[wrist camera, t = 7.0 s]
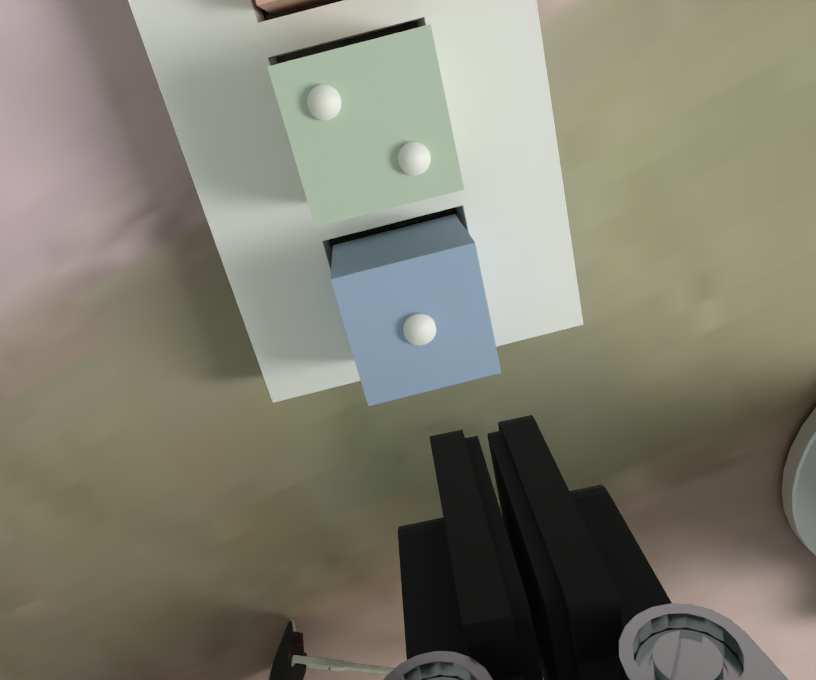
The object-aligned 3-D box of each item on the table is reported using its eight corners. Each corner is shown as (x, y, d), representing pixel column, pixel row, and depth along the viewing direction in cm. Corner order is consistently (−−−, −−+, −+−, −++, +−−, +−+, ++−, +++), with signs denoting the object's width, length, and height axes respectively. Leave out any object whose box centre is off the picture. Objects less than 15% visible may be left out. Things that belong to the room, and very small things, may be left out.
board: (563, 302, 28) (583, 324, 25) (279, 374, 28) (272, 402, 26) (479, -238, 21) (496, -275, 18) (100, -138, 21) (69, -162, 19)
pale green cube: (445, 168, 23) (465, 190, 19) (320, 200, 23) (314, 229, 19) (416, 30, 21) (431, 23, 18) (280, 65, 21) (266, 66, 18)
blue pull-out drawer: (479, 327, 25) (502, 375, 22) (365, 356, 25) (368, 409, 22) (455, 213, 24) (476, 244, 20) (333, 245, 24) (330, 281, 20)
